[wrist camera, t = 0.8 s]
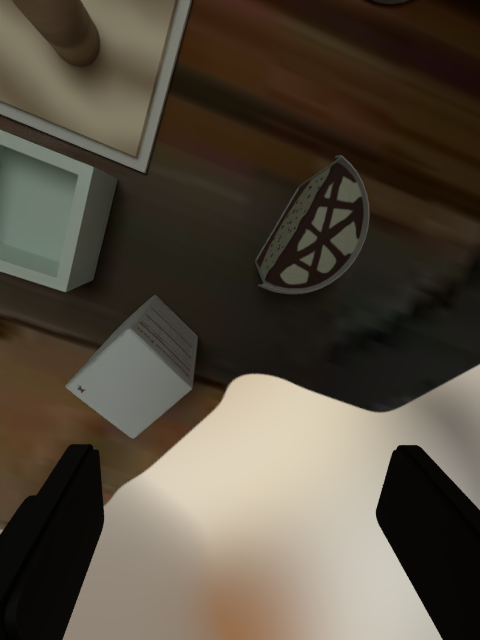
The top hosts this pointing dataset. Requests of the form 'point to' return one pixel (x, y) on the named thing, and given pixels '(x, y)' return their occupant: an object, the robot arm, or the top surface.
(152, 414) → the supplement box
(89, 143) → the mat
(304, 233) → the grey half-round piece
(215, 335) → the top surface
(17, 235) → the open square bin
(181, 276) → the top surface
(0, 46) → the lid
